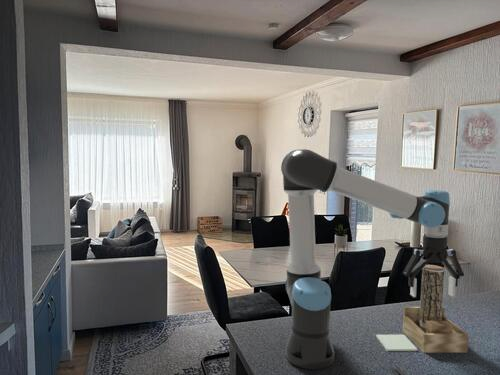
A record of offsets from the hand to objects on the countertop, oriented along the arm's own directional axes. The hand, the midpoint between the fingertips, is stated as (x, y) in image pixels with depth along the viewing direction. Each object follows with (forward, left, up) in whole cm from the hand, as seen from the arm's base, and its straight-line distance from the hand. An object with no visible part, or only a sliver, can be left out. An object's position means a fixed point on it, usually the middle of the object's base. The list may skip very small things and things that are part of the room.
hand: (432, 295), depth 129 cm
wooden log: (0, 0, -15) cm, 15 cm away
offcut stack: (0, -7, -15) cm, 17 cm away
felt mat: (-14, -4, -15) cm, 21 cm away
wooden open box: (0, -3, -15) cm, 15 cm away
